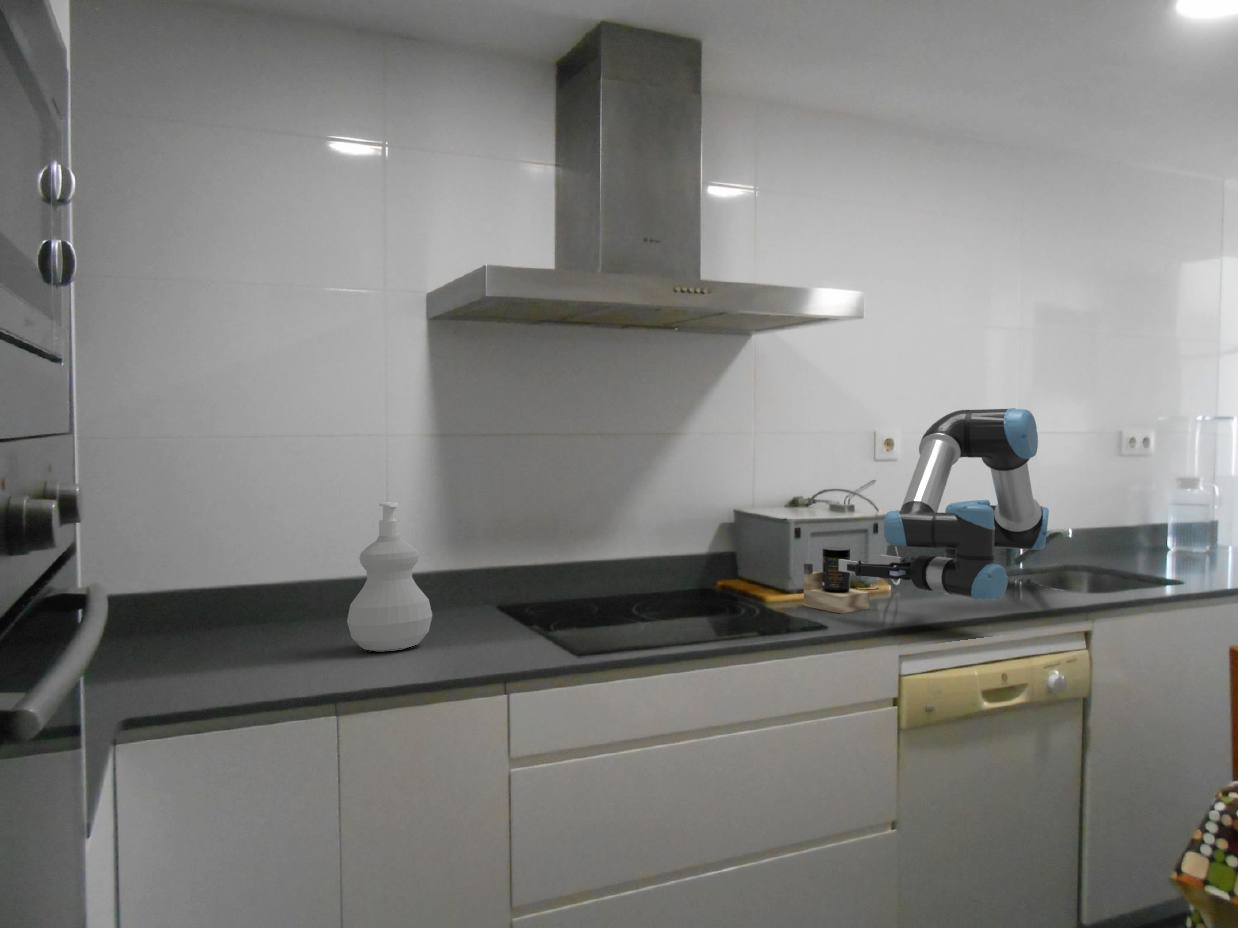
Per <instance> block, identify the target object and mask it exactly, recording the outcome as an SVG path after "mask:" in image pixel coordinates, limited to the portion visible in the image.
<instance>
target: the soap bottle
mask: <svg viewBox="0 0 1238 928" xmlns="http://www.w3.org/2000/svg"><path fill="white" fill-rule="evenodd" d="M378 506H379V507H382V519H379V520H378V536H377V538H376V540H375V541H373V542H372V543H371V544H369V545H368V546H367V547H365V549H364V550H362V551H361V552H360V553H359V554H360V555H359V562H360V564H361V566H362V567H363V568H364V570H365V571H366V581H365V583H364V585H363V587H362V588H361V590H360V591H359V593H357V595H356V597H355V598H354V599H353V600H352V602H351V603H350V604H349V605H350V606H349V611H348V614H347V619H346V622H347V625H348V626H347V627H348V629H349V634H350V636H351V639H352V640H353V641H354V642H355V643H356V644H357V645H358V646H359V647H360V648H361V649H362V648H363V649H367V650H388V649H398V648H407V647H411V646H414V645H417V644H418V645H419V644H420V642H422V640H423V639H424V638H425V637H426V635H427V634H428V633H429V631H430V627H431V623H432V619H433V612H432V609H431V607H432V606H431V604H430V599H429V597H428V596H426V594H425V593H424V592H423V590H422V589H420V587H419V586H418V585H417V583H416V582H415V580H414V578H413V569H414V568H415V566H416V564H417V563H418V561H419V556H420V555H419V551H418V549H416V548H415V547H414V546H413V545H411V544H410V543H408V542H406V541H405V540H403V538H402V537H401V535H400V525H399V524H400V520H399V519H395V518H396V517H395V516H396V515H395V513H396V512H395V511H396V510H395V509H397V507H398V506H399V503H398V502H396V501H385V502H383V501H381V502H379V504H378ZM418 645H417V646H418ZM414 647H415V646H414ZM411 648H412V647H411Z"/></svg>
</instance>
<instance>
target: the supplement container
mask: <svg viewBox="0 0 1238 928" xmlns="http://www.w3.org/2000/svg"><path fill="white" fill-rule="evenodd" d="M821 549H822V550H821V555H822V557H821V558H822V560H821V561H822V562H821V565H822V566H821V571H822V588H823V590H824V591H826V592H831V593H846V592H848V591H849V590H850V589H851V573H849V572H842V571H839V559H844V560H851V547H845V546H824V547H822V548H821Z"/></svg>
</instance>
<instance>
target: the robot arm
mask: <svg viewBox="0 0 1238 928" xmlns="http://www.w3.org/2000/svg"><path fill="white" fill-rule="evenodd" d="M1037 428H1038V426H1037V423H1036V420H1035V417H1034V415H1033V413H1032V412H1031V411H1030V410H1028V409H1023V408H1021V409H1020V408H1012V407H1011V408H996V409H995V408H991V409H989V408H987V409H984V408H983V409H960V410H955V411H952V412H950V413H948V414H946V415H944V416H942V417H941V418H940V419H938V420H936V421H935V422H934V423H932V425H931V426H930V427H928V429H927V430H926V431H925V433H924V434H923V435H922V437H921V440H920V443H919V445H918V453H919V457H918V461H917V464H916V467H915V468H914V472H913V474H912V478H911V480H910V483H909V485H908V487H907V490H906V493H905V497H904V499H903V502H902V504H901V507H900V510H899V509H897V510H889V511H887V512H886V514H885V516H884V519H883V537H884V540H885V541H886V543H887V544H889V545H892V546H893V545H894V546H900V547H901V546H902V547H911V548H912V547H913V548H930V549H931V548H935V549H936V548H937V549H944V556H933V555H927V554H921V555H919V556H917V557H915V556H913V557H900V556H894V555H888V554H887V555H886V554H881V555H878V564H863V562H861V560H858V562H857V561H851V559H850V560H844V559H839V571H842V572H849V573H850V574H852V573H855V576H864V577H878V578H879V579H891V580H896V581H898V580H899V579H901V580H904V581H912V584H913V585H914V586H915V587H916V588H917V589H919V590H924V591H930V592H933V591H934V592H938V593H943V594H944V596H946V597H948V596H950V595H954V596H955V595H956V596H961V597H967V598H970V599H971V598H972V599H974V600H987V601H996V600H999V599H1000V598H1002V596H1004V595H1005V592H1006V590H1007V588H1008V583H1009V581H1008V579H1009V576H1008V575H1007V571H1006V569H1005V568H1004V566H1002V565H1001V564H997V563H996V562H995V561H996V560H995V559H996V558H995V549H996V548H997V549H1011V550H1012V549H1015V550H1027V551H1037V550H1039V551H1040V550H1044V548H1045V547H1046V542H1047V533H1048V524H1049V511H1050V510H1049V508H1048V507H1046V506H1045V507H1044V506H1043V505H1040V503H1039V502H1038V501H1037V500H1036V499H1035V498H1034V496H1033V490H1032V484H1031V478H1030V472H1029V466H1028V462H1029V461H1030V459H1032V458H1033V457H1035V456H1036V455H1037V452H1038V447H1039V444H1038V443H1039V439H1038V438H1039V437H1038V430H1037ZM960 458H971V459H973V458H975V459H976V458H979V459H980V458H981V461H982V462H983V464H985V466H986V467H988V468H989V469H990V472H991V477H992V481H993V482H992V483H993V487H994V491H995V496H996V500H997V504H996V505H993V504H992V505H991V502H990V500H989V499H976V500H975V499H974V500H966V501H959V502H952V503H950V504H948V505H946V507H945V511H944V512H938V511H939V508H940V504H941V502H942V499H943V496H944V495H943V494H944V493H945V492H944V491H945V489H946V487H947V482H948V479H949V477H950V473H951V471H952V469H953V468H952V467H953V465H955V464H956V463H957V462H958V461H959V459H960Z"/></svg>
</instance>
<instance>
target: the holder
mask: <svg viewBox="0 0 1238 928" xmlns="http://www.w3.org/2000/svg"><path fill="white" fill-rule="evenodd" d="M813 566H814V565H813V563H810V562H807V563H803V606H804V607H808V608H813V609H818V610H823V611H827V612H833V613H837V614H845V613H847V614H848V613H853V612H857V611H864V610H869V609H870V593H871V592H869V591H866V590H865V591H864V590H861V589H855V588H850V590H849V591H848V592H846V593H831V592H826V591H824V590H823V588H822V570H819V571H813V568H814V567H813Z"/></svg>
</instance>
